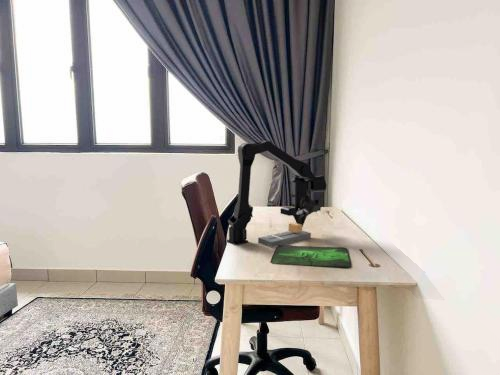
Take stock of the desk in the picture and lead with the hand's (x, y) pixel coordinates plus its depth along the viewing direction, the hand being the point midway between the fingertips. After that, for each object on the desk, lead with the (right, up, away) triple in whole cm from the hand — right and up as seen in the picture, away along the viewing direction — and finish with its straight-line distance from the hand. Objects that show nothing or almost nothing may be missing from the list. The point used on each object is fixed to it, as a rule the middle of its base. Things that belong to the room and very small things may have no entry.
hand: (300, 228), depth 161 cm
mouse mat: (0, -8, -25) cm, 26 cm away
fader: (-2, -1, -2) cm, 3 cm away
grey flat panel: (-7, -4, -5) cm, 10 cm away
